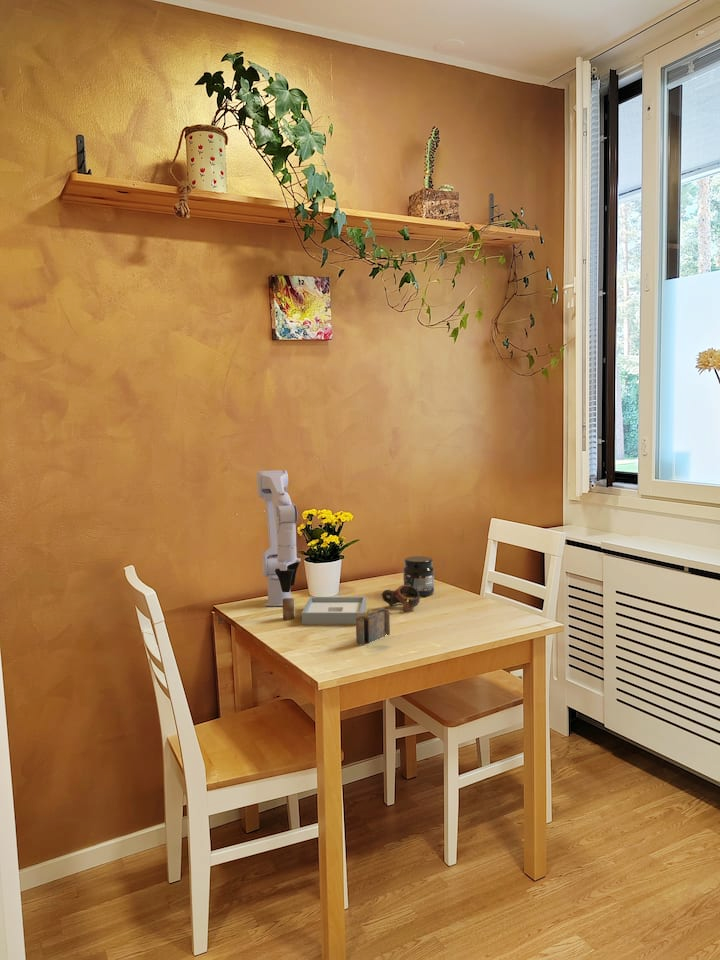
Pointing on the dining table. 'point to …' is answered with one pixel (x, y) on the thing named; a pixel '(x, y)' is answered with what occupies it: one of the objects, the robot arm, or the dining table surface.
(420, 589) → the supplement container
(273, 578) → the robot arm
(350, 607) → the crate
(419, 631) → the dining table surface
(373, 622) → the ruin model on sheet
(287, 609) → the peg
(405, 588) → the rusty metal pipe clamp
